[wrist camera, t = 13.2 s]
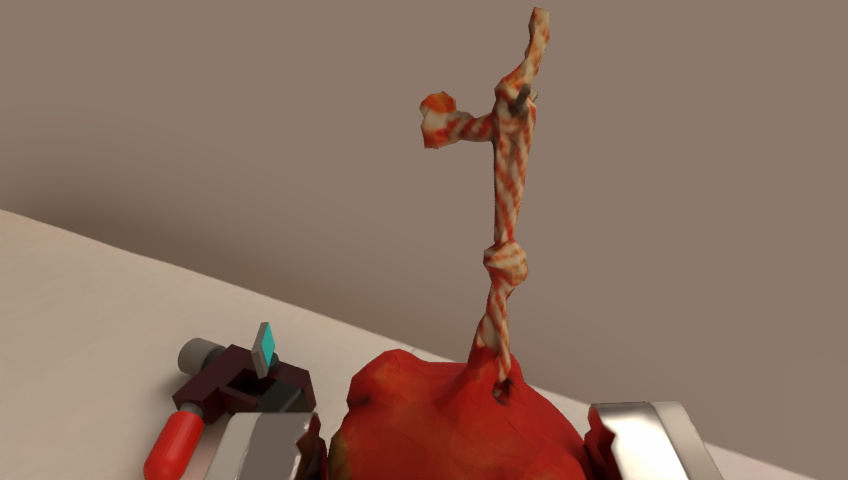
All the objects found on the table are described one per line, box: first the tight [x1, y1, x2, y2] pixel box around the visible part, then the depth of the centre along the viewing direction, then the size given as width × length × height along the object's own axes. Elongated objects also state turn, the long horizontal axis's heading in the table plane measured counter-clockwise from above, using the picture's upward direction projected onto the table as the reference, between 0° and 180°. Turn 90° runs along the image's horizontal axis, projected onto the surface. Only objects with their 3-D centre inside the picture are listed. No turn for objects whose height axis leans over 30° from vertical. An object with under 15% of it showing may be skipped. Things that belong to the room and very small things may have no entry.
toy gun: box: [144, 322, 316, 480], centre depth 30 cm, size 10×12×5 cm
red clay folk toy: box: [326, 7, 596, 480], centre depth 9 cm, size 8×7×15 cm
